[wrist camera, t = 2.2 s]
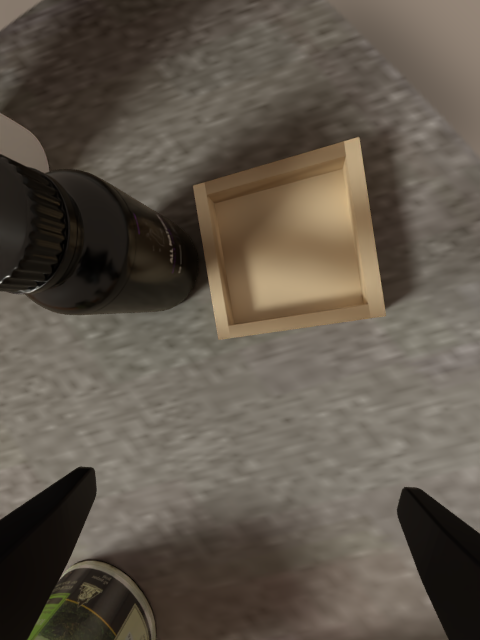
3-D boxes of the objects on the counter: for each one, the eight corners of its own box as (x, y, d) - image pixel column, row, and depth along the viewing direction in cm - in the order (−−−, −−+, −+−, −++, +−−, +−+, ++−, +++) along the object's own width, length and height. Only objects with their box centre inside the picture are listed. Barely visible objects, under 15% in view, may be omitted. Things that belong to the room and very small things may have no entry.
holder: (376, 314, 18) (385, 316, 16) (228, 335, 20) (218, 339, 18) (353, 156, 17) (359, 136, 15) (205, 197, 20) (192, 185, 18)
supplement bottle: (219, 254, 20) (95, 188, 8) (169, 328, 21) (2, 362, 10) (149, 202, 21) (-48, 79, 9) (105, 276, 22) (-115, 250, 11)
